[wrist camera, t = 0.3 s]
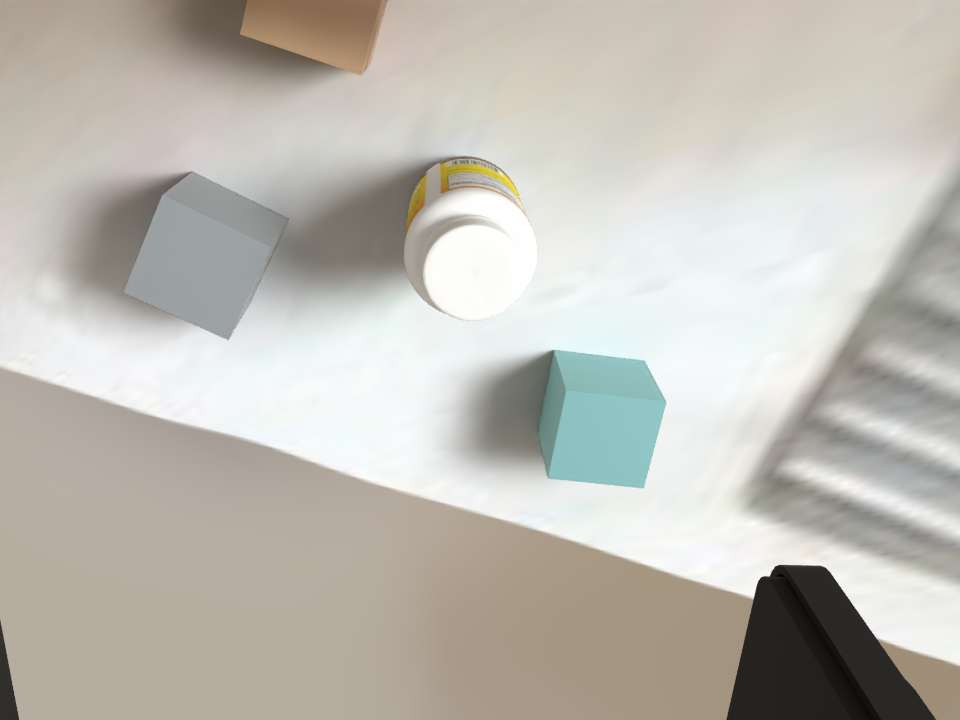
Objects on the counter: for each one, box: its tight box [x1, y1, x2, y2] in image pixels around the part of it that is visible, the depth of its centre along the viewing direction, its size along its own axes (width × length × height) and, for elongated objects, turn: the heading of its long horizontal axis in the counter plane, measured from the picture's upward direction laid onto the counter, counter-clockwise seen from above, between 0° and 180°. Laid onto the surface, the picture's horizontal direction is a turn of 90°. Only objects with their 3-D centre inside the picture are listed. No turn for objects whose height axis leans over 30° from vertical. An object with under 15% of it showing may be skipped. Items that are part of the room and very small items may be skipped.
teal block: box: [538, 350, 666, 488], centre depth 45 cm, size 5×5×5 cm
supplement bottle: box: [404, 156, 537, 321], centre depth 38 cm, size 6×6×10 cm
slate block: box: [123, 172, 289, 340], centre depth 40 cm, size 5×5×5 cm
